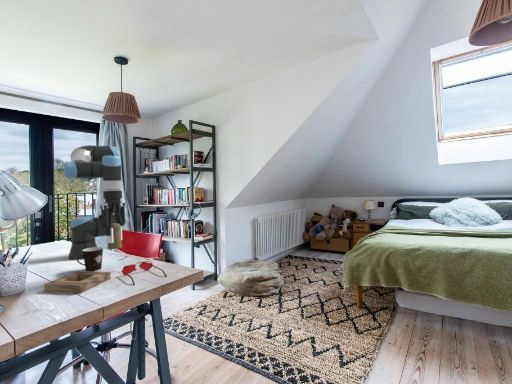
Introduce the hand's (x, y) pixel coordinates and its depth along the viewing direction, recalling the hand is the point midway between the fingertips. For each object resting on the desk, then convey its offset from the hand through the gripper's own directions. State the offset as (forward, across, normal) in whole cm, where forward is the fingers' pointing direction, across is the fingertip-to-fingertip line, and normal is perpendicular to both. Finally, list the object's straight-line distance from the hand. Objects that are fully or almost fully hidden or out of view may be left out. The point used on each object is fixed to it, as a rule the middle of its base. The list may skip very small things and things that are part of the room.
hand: (114, 241), depth 123 cm
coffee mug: (+15, -4, -17) cm, 23 cm away
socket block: (+15, +14, -6) cm, 21 cm away
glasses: (+15, +2, +15) cm, 22 cm away
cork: (+3, 0, 0) cm, 3 cm away
